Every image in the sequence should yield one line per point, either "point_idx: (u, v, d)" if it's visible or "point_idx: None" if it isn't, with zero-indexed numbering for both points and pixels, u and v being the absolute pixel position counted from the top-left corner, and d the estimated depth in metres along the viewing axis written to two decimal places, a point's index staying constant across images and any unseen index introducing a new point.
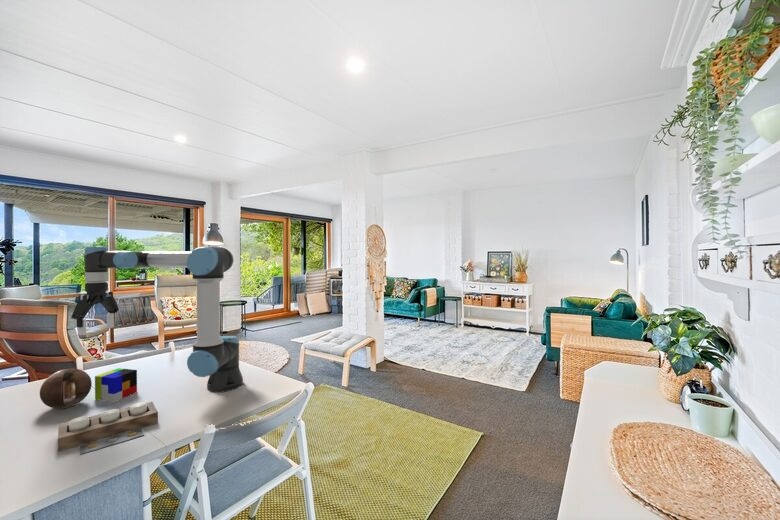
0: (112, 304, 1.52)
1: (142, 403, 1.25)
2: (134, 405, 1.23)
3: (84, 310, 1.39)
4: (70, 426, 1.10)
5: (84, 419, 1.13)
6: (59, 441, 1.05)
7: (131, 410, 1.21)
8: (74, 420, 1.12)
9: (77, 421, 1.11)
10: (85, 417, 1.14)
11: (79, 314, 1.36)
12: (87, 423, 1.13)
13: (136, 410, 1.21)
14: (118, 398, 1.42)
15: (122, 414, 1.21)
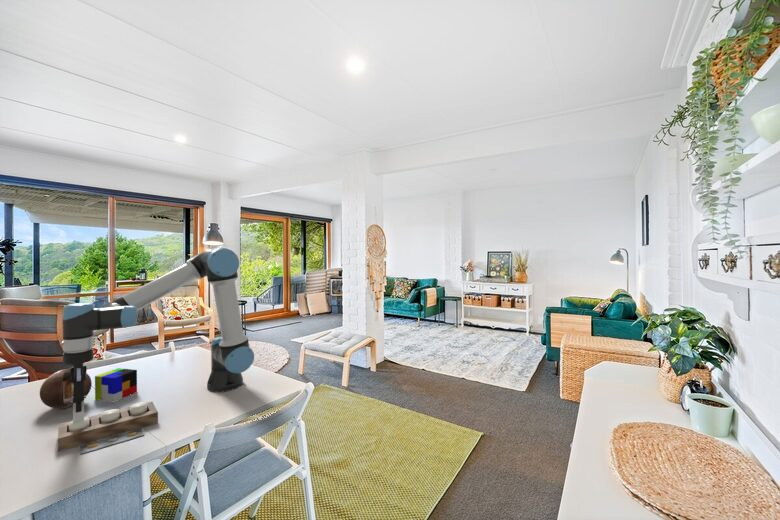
0: None
1: (142, 403, 1.25)
2: (134, 405, 1.23)
3: None
4: (70, 427, 1.10)
5: (84, 420, 1.13)
6: (59, 441, 1.05)
7: (131, 410, 1.21)
8: None
9: (77, 422, 1.11)
10: (85, 418, 1.14)
11: (83, 395, 1.11)
12: (87, 424, 1.13)
13: (136, 410, 1.21)
14: (118, 398, 1.42)
15: (122, 414, 1.21)
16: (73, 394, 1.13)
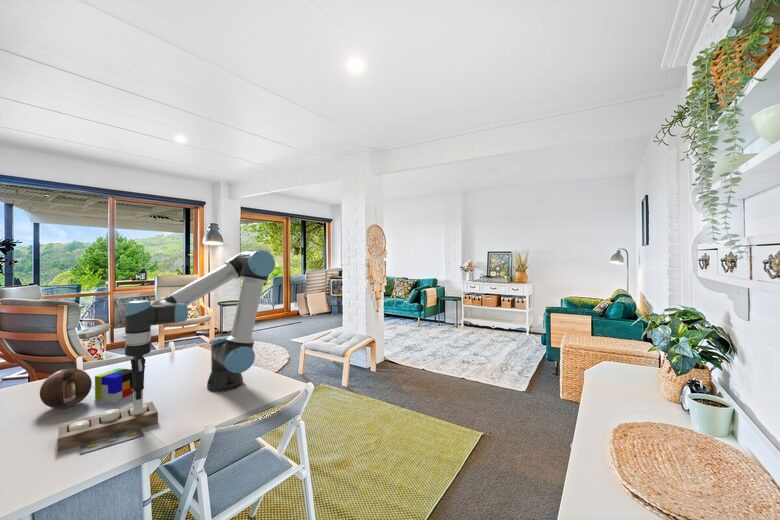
0: None
1: None
2: None
3: None
4: (70, 430, 1.10)
5: (84, 423, 1.13)
6: (59, 441, 1.05)
7: (131, 412, 1.21)
8: (74, 424, 1.12)
9: (77, 425, 1.11)
10: (85, 421, 1.14)
11: (143, 384, 1.22)
12: None
13: (136, 412, 1.21)
14: (118, 398, 1.42)
15: (122, 414, 1.21)
16: (132, 383, 1.24)
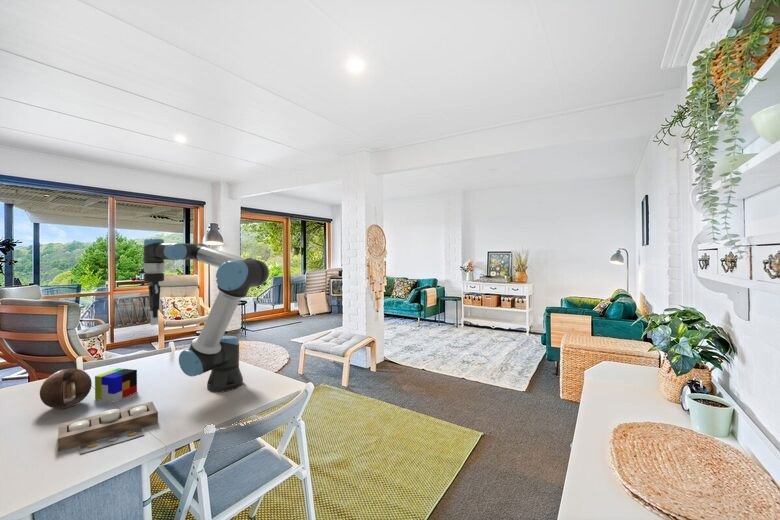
0: None
1: (142, 407, 1.25)
2: (134, 409, 1.23)
3: None
4: (70, 430, 1.10)
5: (84, 423, 1.13)
6: (59, 441, 1.05)
7: (131, 414, 1.21)
8: (74, 424, 1.12)
9: (77, 425, 1.11)
10: (85, 421, 1.14)
11: None
12: None
13: (136, 413, 1.21)
14: (118, 398, 1.42)
15: (122, 414, 1.21)
16: (150, 306, 1.54)
